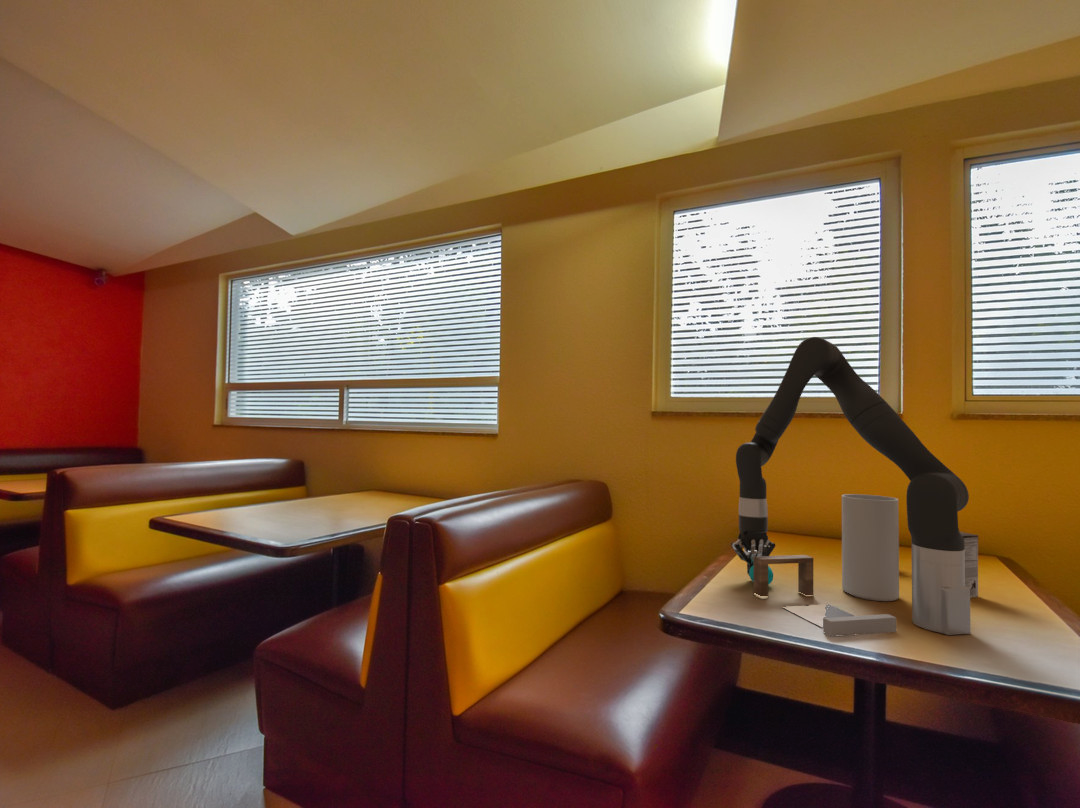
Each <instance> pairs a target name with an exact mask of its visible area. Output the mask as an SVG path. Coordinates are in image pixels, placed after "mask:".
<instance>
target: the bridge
mask: <svg viewBox="0 0 1080 808" xmlns="http://www.w3.org/2000/svg"><path fill="white" fill-rule="evenodd" d="M779 564H780V565H784V564H785V565H787V564H797V565H798V566H797V567H798V568H797V572H798V579H797V580H798V583H797V584H798V586H797V587H798V591H797V593H798V592H801V593H803V594H805V595H813V596H814V557H812V556H809V555H806V554H796V555H795V554H794V555H793V554H791V555H789V554H788V555H769V556H756V557H754V582H753V594H754V593H756V594H758V595H760V596H768V597H769V585H768V566H769V565H779Z"/></svg>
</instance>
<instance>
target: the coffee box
mask: <svg viewBox="0 0 1080 808" xmlns="http://www.w3.org/2000/svg"><path fill="white" fill-rule="evenodd" d="M959 532H960V534H961V535H962V536H963V537H964V544H965V549H964V550H965V586H966V587H969V588H970V599H971V598H972V597H973V598H978V597H979V535H978V534H973V533H969V532H963V531H959Z"/></svg>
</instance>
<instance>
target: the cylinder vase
mask: <svg viewBox="0 0 1080 808" xmlns="http://www.w3.org/2000/svg"><path fill="white" fill-rule="evenodd" d="M899 519H900V517H899V498H896V497H893V496H882V495H873V494H860V493H858V494H857V493H852V494H851V493H848V494H847V493H845V494H842V495H841V587H842V590H843V591H844V592H845V593H846V592H847V594H848V593H849V595H850V594H851V596H853V597H856V598H859V599H863V600H869V601H876V602H892V601H896V600H899V598H900V541H899V540H900V538H899V537H900V536H899V535H900V533H899V532H900V527H899V524H900V523H899V522H900V521H899Z"/></svg>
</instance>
